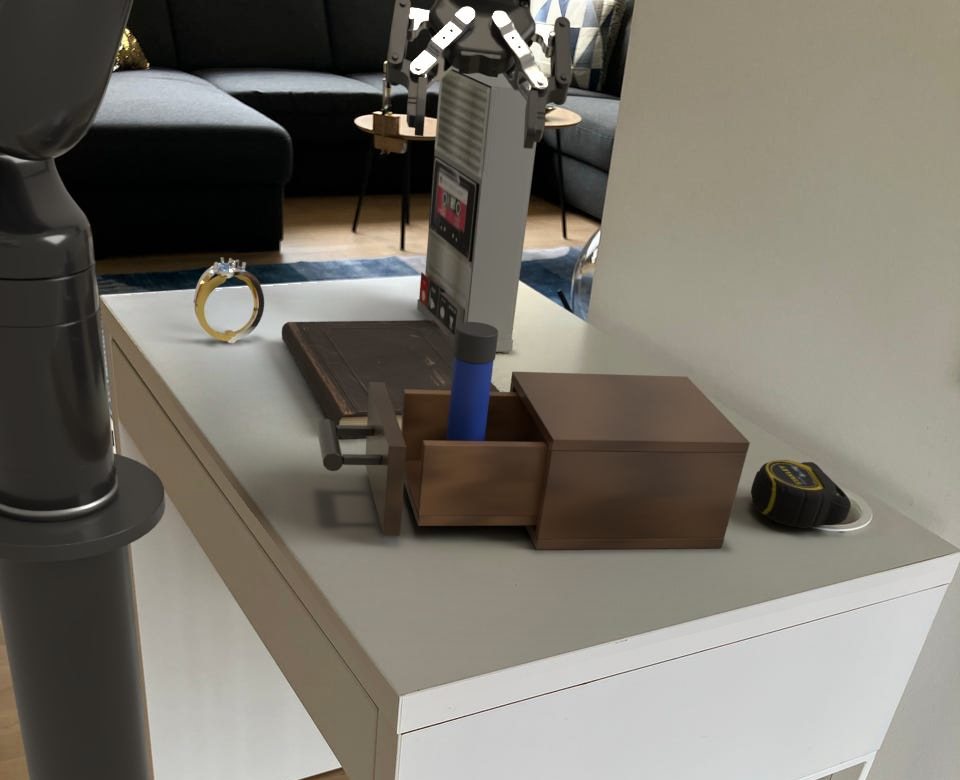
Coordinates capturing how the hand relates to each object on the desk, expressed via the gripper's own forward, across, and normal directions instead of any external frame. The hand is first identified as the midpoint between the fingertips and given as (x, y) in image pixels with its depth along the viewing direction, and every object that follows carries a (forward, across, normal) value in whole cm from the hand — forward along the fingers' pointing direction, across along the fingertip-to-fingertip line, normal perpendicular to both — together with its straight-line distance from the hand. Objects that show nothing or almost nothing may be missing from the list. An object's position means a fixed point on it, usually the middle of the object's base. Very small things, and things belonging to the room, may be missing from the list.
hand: (475, 136), depth 82 cm
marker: (+27, +1, +4) cm, 27 cm away
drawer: (+28, -1, +4) cm, 28 cm away
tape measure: (+26, +28, +8) cm, 39 cm away
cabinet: (+27, +13, +7) cm, 30 cm away
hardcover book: (+11, -6, +23) cm, 26 cm away
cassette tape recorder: (-1, +2, +35) cm, 35 cm away
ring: (+6, -22, +28) cm, 36 cm away
